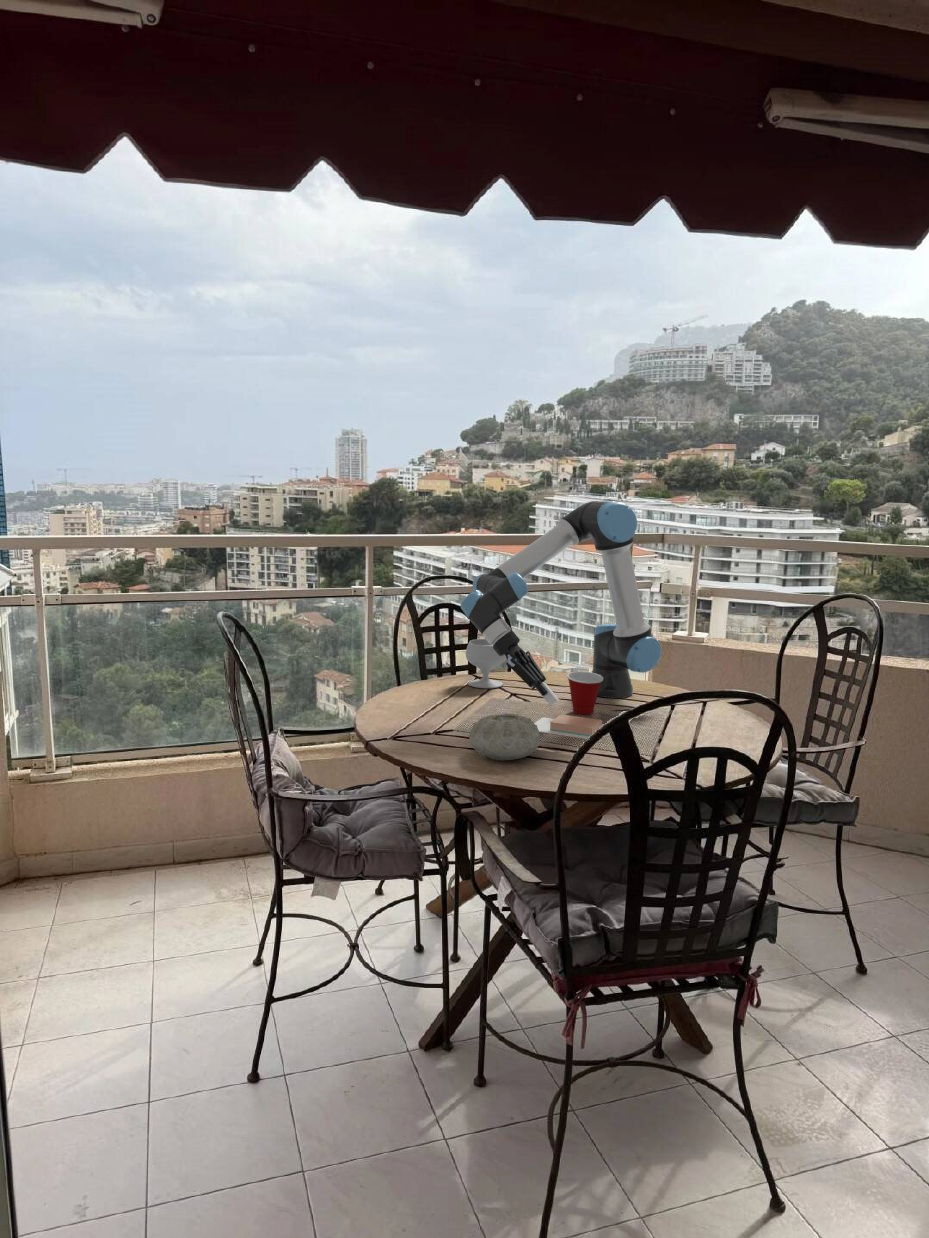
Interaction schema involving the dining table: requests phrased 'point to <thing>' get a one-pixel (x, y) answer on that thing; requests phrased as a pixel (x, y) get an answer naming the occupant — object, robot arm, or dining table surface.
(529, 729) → the grey rounded stone
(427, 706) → the dining table surface
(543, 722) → the mat
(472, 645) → the chalice
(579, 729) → the tan flat block
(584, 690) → the plastic cup
